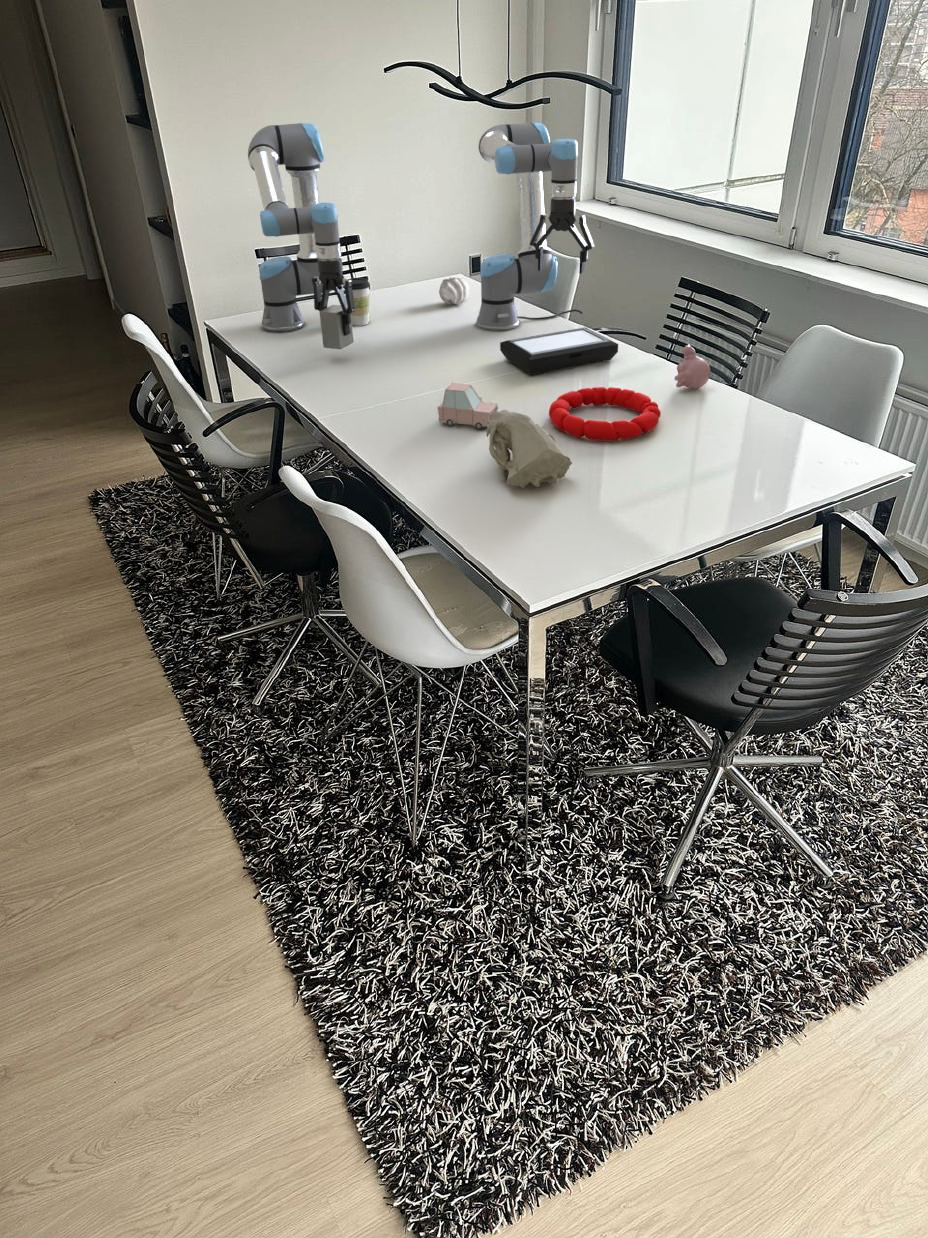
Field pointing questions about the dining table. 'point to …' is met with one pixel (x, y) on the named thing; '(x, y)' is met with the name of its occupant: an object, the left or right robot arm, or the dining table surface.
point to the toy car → (465, 406)
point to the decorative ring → (604, 428)
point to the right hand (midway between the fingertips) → (560, 271)
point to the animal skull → (525, 450)
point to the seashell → (453, 290)
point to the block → (334, 328)
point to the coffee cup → (360, 301)
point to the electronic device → (558, 350)
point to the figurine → (692, 370)
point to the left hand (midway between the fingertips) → (337, 333)
